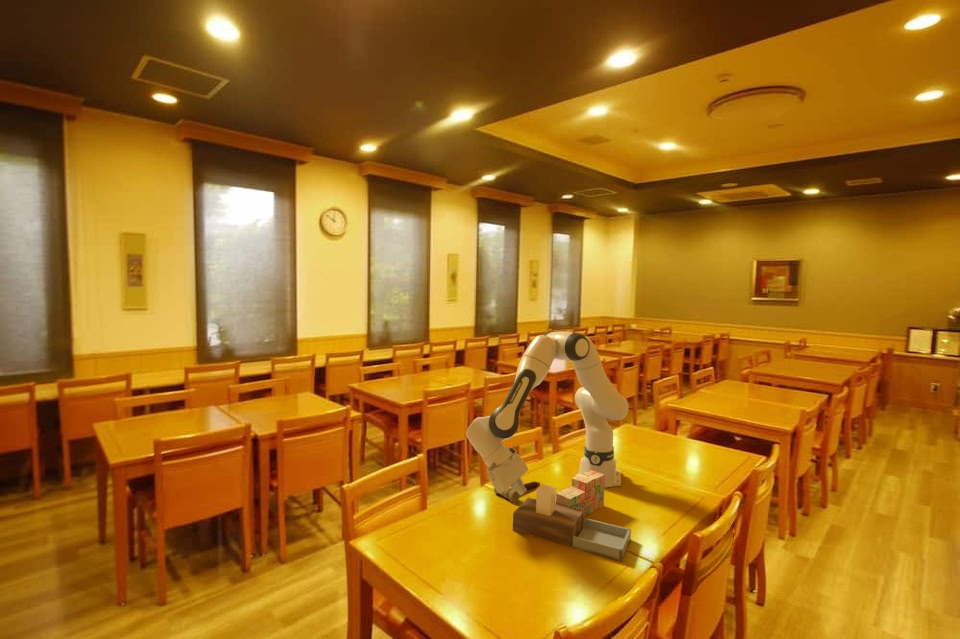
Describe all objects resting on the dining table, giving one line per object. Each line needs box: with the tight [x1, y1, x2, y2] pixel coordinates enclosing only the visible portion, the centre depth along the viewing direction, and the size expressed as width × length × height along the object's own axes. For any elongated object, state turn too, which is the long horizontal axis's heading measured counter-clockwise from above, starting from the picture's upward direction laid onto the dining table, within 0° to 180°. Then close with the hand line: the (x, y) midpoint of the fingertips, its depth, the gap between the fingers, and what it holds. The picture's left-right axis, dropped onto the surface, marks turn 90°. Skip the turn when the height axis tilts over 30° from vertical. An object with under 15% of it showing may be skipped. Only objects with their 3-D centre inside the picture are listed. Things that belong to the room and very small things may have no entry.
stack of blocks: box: [555, 470, 605, 518], centre depth 169 cm, size 21×6×12 cm, turn 133°
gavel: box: [493, 481, 541, 503], centre depth 186 cm, size 21×5×10 cm
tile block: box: [535, 483, 557, 516], centre depth 157 cm, size 5×5×8 cm
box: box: [572, 517, 632, 562], centre depth 148 cm, size 14×15×4 cm
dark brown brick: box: [512, 497, 584, 548], centre depth 157 cm, size 13×20×6 cm, turn 62°
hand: (523, 493), depth 160 cm, fingers closed
